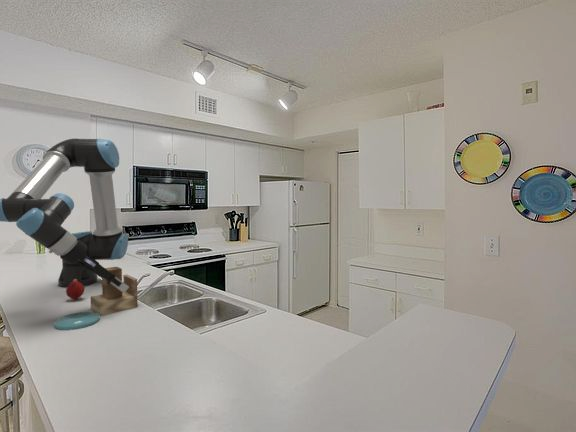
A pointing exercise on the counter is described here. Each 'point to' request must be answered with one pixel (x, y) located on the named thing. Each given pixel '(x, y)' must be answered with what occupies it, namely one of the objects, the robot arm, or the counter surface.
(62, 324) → the teal flattened ellipsoid
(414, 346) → the counter surface
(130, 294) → the ledge
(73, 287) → the onion
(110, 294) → the block
